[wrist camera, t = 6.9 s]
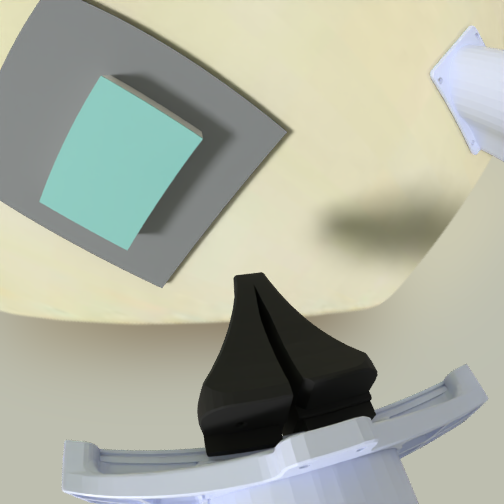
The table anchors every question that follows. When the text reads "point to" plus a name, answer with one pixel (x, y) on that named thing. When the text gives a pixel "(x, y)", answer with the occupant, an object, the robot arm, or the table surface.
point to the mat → (148, 83)
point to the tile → (118, 161)
